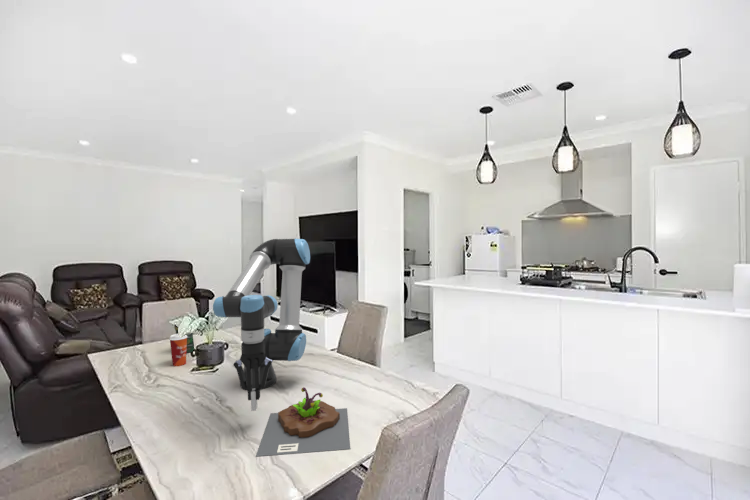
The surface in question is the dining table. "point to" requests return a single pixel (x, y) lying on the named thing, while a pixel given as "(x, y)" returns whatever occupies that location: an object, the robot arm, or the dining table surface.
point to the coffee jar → (188, 341)
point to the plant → (308, 416)
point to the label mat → (304, 438)
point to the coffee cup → (178, 349)
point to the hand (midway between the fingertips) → (254, 408)
